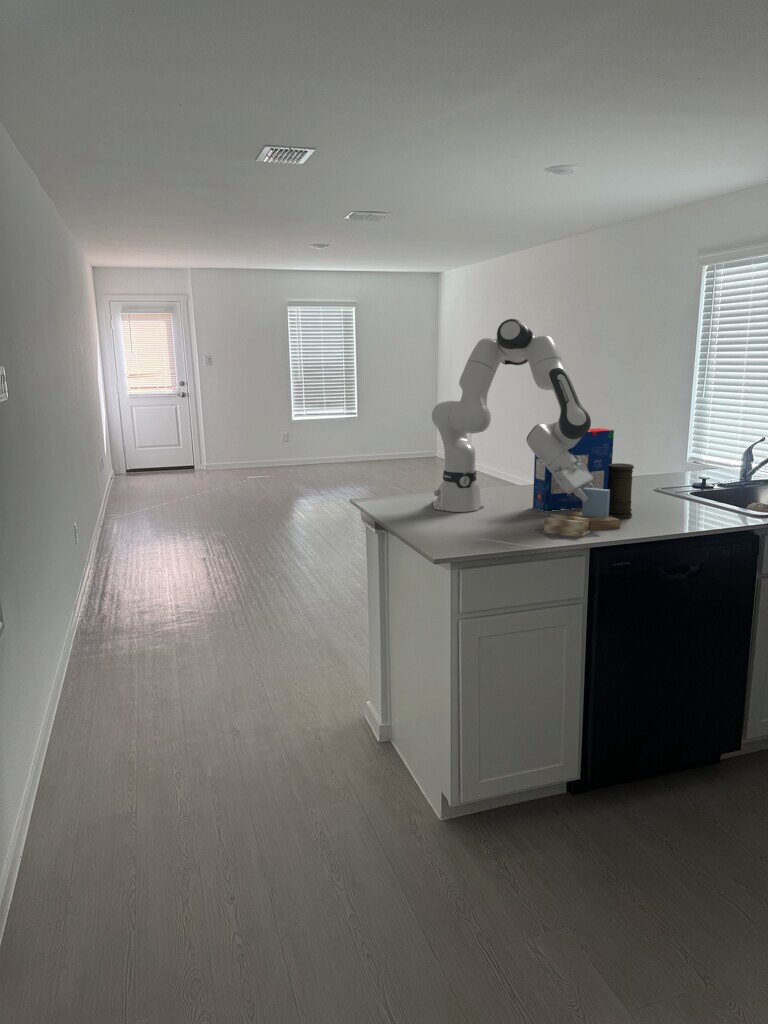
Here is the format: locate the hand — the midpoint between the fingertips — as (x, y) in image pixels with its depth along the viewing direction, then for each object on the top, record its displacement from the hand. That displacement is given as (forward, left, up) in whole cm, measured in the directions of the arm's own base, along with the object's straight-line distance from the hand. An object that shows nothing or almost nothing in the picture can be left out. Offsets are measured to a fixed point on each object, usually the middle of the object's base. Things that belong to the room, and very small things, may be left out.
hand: (591, 497), depth 231 cm
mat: (+10, -13, -9) cm, 19 cm away
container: (-8, +15, -9) cm, 19 cm away
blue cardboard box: (-27, +7, -9) cm, 30 cm away
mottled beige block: (+10, -13, -9) cm, 18 cm away
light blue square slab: (+2, +1, -6) cm, 6 cm away
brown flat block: (+2, +1, -9) cm, 9 cm away
